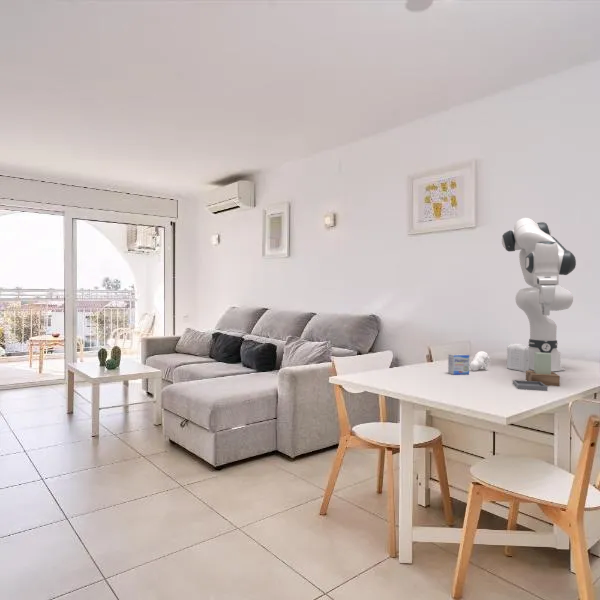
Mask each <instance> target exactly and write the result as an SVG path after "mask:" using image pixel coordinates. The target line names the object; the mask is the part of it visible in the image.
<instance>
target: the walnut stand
mask: <svg viewBox="0 0 600 600" xmlns="http://www.w3.org/2000/svg"><path fill="white" fill-rule="evenodd" d="M560 377H561V376H560V375H559V374H557V373H555V371H551V374H537V373H535V372H534V370H530V369H529V370H526V372H525V381H537V382H542V383H543V384H544V385H546V386H547V387H549V386H551V387H560V385H561V383H560Z"/></svg>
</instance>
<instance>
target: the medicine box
mask: <svg viewBox="0 0 600 600" xmlns="http://www.w3.org/2000/svg"><path fill="white" fill-rule="evenodd" d="M447 356H448V357H447V358H448V359H447V360H448V361H447V362H448V364H447V365H448V366H447V373H448V374H449V375H452V376H460V375H461V376H465V375H467V376H468V375H470V366H469V365H470V354H466V353H459V354H456V353H455V354H454V353H450V354H448V355H447Z"/></svg>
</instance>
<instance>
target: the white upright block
mask: <svg viewBox="0 0 600 600" xmlns="http://www.w3.org/2000/svg"><path fill="white" fill-rule="evenodd" d="M506 348H507V349H506V369H508V370H514V371H519V372H523V373H526V370H529V371H530V369H529V346H527V345H525V344H523V343H510V344H508V346H507V347H506Z"/></svg>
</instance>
